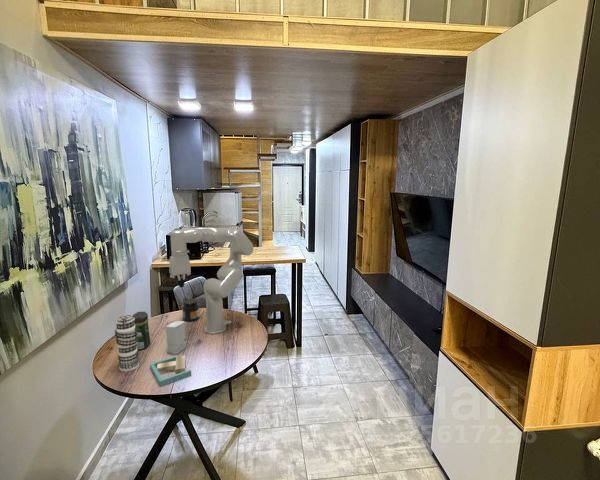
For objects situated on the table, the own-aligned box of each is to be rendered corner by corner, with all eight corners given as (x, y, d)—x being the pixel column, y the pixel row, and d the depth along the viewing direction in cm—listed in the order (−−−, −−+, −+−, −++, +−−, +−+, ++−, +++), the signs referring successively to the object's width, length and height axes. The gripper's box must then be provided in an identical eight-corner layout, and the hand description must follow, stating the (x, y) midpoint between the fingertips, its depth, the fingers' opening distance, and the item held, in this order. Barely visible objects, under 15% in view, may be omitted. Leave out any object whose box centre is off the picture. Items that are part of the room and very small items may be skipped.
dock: (179, 359, 160) (179, 354, 159) (191, 375, 146) (191, 370, 146) (150, 368, 152) (149, 363, 151) (160, 386, 138) (159, 381, 138)
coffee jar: (136, 342, 177) (134, 310, 174) (151, 341, 178) (149, 309, 175) (130, 351, 168) (127, 317, 165) (146, 350, 169) (143, 316, 166)
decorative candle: (119, 363, 156) (115, 314, 152) (141, 359, 160) (136, 312, 155) (116, 373, 148) (111, 322, 144) (139, 369, 151) (134, 319, 147)
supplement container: (202, 318, 209) (201, 301, 207) (187, 323, 202) (185, 305, 200) (195, 314, 217) (194, 297, 215) (180, 318, 209) (178, 301, 207)
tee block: (185, 360, 159) (184, 355, 158) (185, 373, 148) (184, 368, 147) (158, 365, 155) (158, 359, 154) (156, 379, 144) (156, 373, 143)
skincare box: (176, 354, 164) (174, 327, 162) (166, 353, 166) (164, 326, 164) (186, 347, 172) (185, 321, 170) (177, 345, 174) (175, 319, 171)
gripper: (190, 250, 176) (192, 282, 179) (162, 254, 167) (164, 287, 170) (195, 252, 171) (197, 285, 174) (166, 256, 162) (168, 291, 165)
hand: (181, 286), depth 172 cm, fingers closed
